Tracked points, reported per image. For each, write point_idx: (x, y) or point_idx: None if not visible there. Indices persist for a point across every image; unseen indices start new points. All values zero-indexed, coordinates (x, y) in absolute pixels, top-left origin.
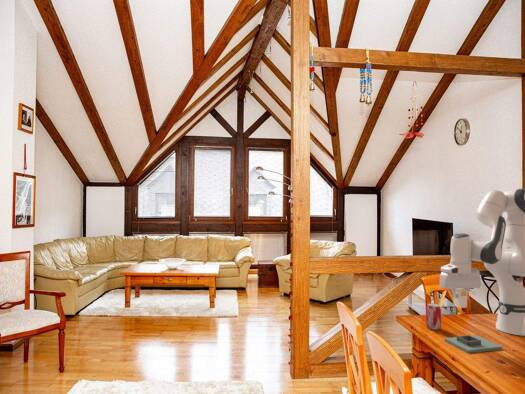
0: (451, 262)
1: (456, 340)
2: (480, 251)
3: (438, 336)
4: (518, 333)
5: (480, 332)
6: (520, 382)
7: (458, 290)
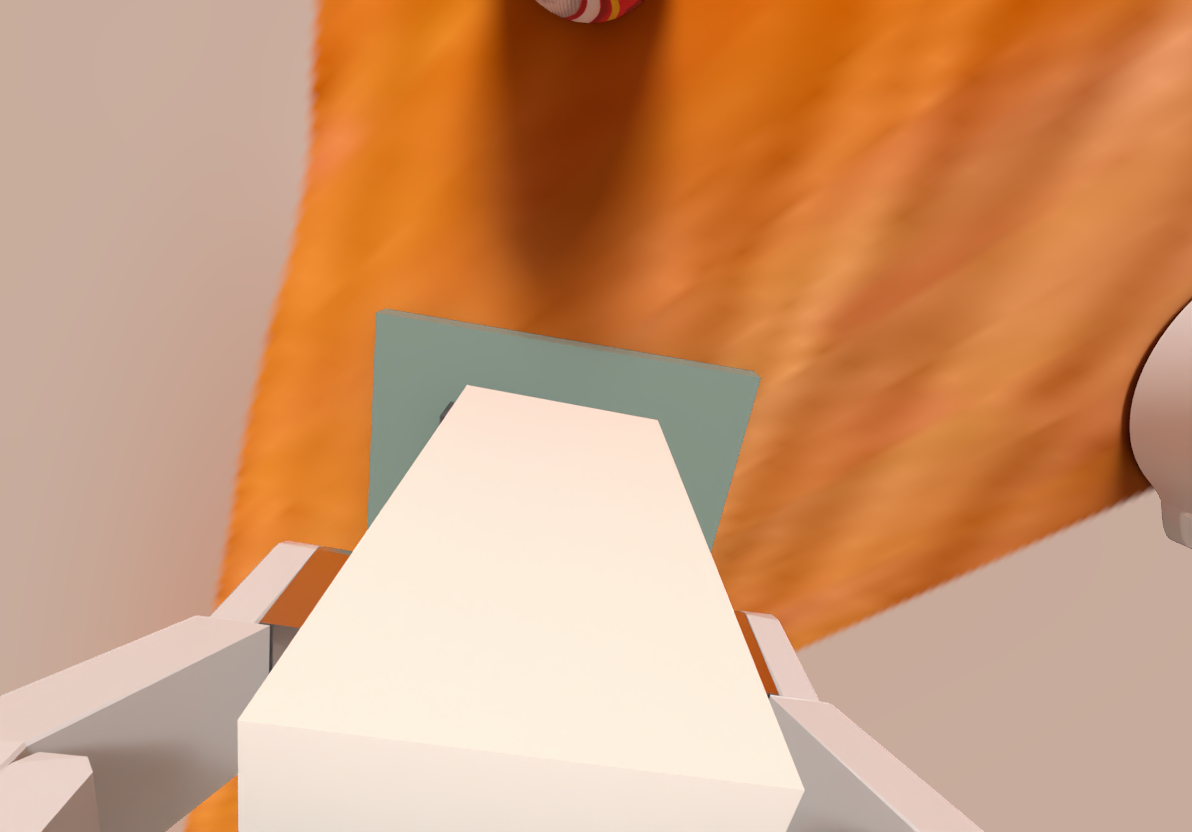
0: None
1: (448, 397)
2: None
3: (423, 187)
4: (1165, 488)
5: (943, 287)
6: None
7: None
